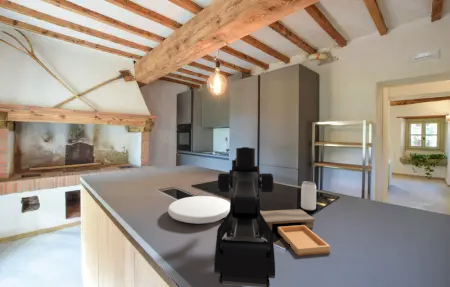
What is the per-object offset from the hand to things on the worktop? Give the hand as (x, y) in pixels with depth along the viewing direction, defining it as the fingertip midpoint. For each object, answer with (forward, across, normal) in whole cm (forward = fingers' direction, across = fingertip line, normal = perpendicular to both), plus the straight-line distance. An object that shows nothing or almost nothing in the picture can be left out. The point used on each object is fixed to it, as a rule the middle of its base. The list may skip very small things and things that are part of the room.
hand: (245, 182), depth 78 cm
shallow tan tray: (-8, -18, +18) cm, 27 cm away
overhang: (+5, -14, +15) cm, 22 cm away
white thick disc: (+11, +19, +14) cm, 26 cm away
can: (+23, -29, +12) cm, 39 cm away
